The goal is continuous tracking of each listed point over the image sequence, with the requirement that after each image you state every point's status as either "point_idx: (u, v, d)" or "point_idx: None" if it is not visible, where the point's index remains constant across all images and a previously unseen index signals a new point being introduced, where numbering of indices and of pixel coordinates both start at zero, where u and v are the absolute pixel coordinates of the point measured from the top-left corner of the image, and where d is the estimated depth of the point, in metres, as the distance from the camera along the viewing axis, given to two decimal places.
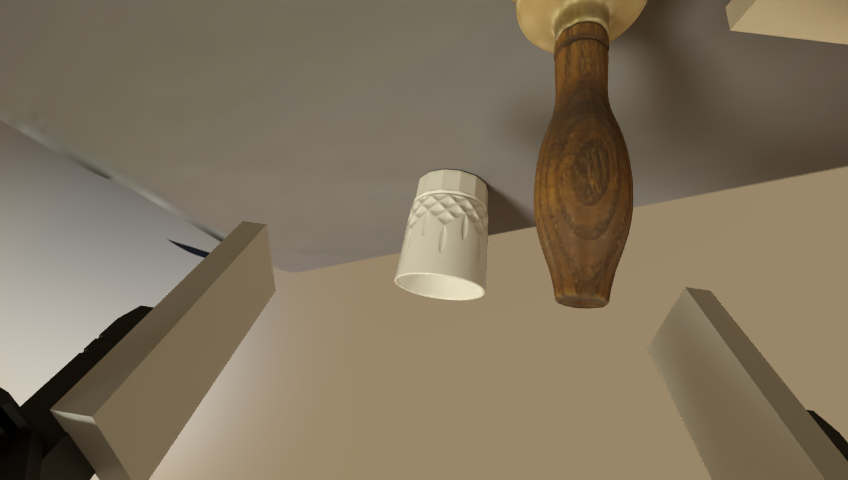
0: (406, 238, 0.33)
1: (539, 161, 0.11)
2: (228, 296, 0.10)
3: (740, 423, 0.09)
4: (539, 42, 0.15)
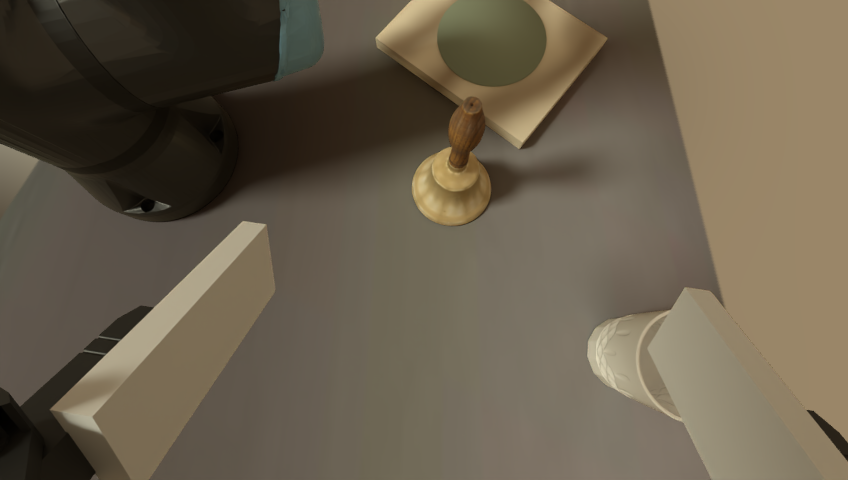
0: (621, 381, 0.30)
1: (453, 144, 0.28)
2: (228, 296, 0.10)
3: (740, 423, 0.09)
4: (462, 184, 0.35)
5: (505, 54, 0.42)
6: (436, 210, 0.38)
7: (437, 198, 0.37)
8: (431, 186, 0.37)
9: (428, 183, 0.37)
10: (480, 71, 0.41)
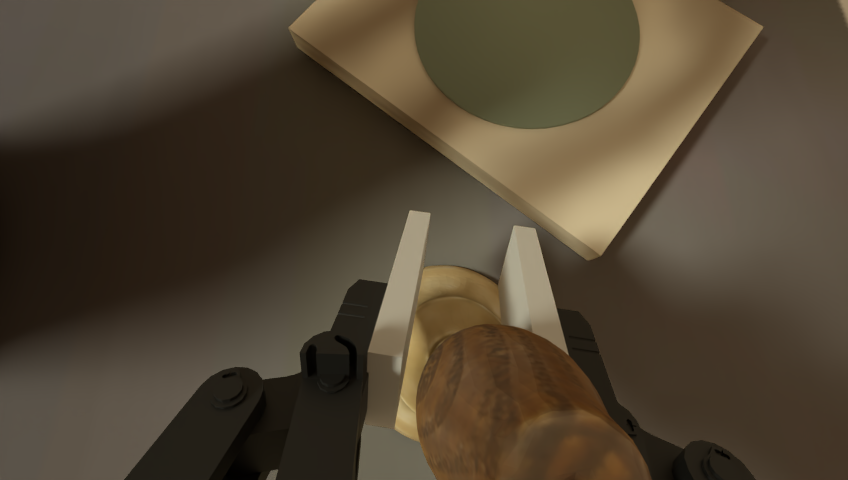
0: None
1: None
2: (420, 273, 0.12)
3: (517, 321, 0.11)
4: None
5: (556, 60, 0.20)
6: (408, 421, 0.17)
7: (410, 408, 0.15)
8: None
9: None
10: (504, 97, 0.20)
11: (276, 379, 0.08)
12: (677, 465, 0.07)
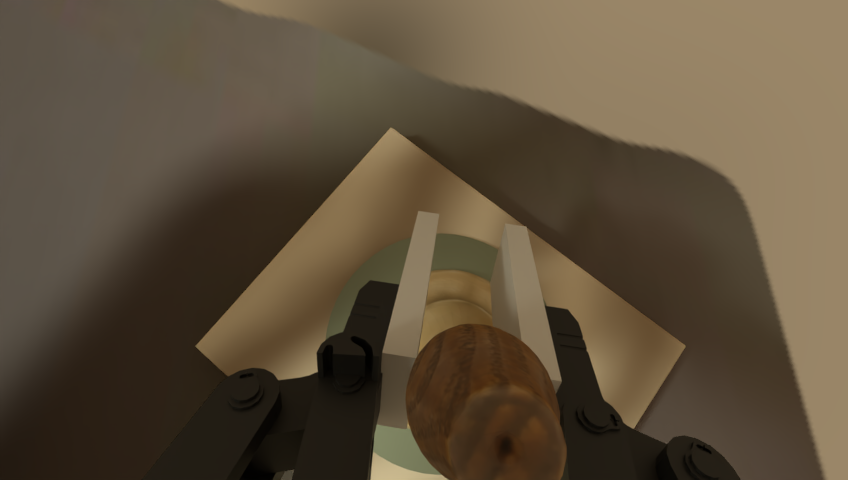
0: None
1: None
2: None
3: (506, 318, 0.11)
4: None
5: None
6: None
7: None
8: None
9: None
10: (413, 437, 0.19)
11: (291, 380, 0.08)
12: (660, 461, 0.07)
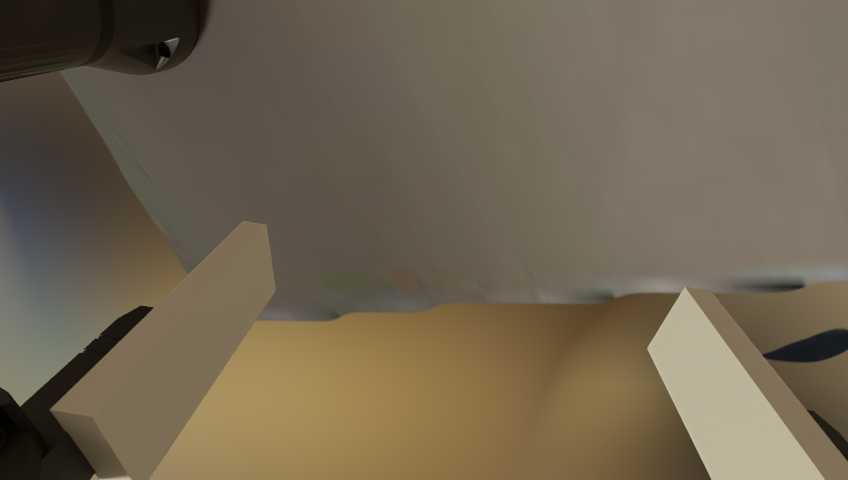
0: None
1: None
2: (228, 296, 0.10)
3: (740, 423, 0.09)
4: None
5: None
6: None
7: None
8: None
9: None
10: None
11: None
12: None
